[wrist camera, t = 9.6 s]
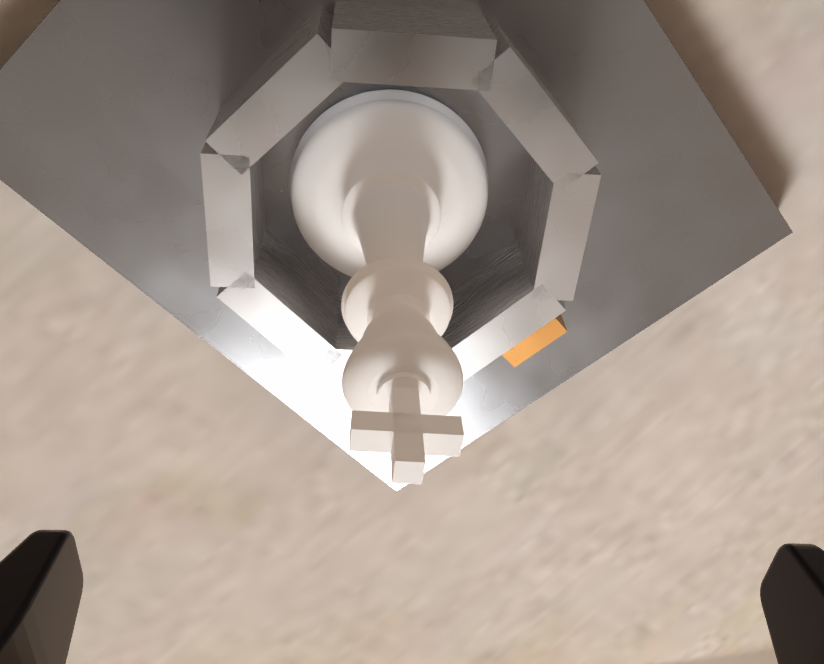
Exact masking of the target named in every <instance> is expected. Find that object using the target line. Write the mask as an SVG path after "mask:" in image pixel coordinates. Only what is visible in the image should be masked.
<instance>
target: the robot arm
mask: <svg viewBox="0 0 824 664" xmlns="http://www.w3.org/2000/svg"><path fill="white" fill-rule="evenodd" d="M82 589H83V573H82V568H81V564H80V560H79V556H78V551H77V547H76V543H75V539H74V536H73V535H72V533H71V532H69V531H66V530H38V531H35V532H34V533H32V534H31V535H29V536H28V537H27V538H26V539H25V540H24V541H23V542H22V543H20V544H19V545H18V546H17V547H16V548H15V549H14V550H13V551H12V552H11V553H10V554H8V555H7V556H6V557H5V558H4V559H3V560H2V561H1V562H0V664H66V659H67V655H68V651H69V646H70V642H71V638H72V634H73V629H74V625H75V621H76V616H77V612H78V608H79V604H80V599H81V595H82ZM760 597H761V603H762V607H763V611H764V614H765V618H766V621H767V625H768V629H769V632H770V636H771V640H772V643H773V647H774V651H775V654H776V658H777V661H778V664H824V551H823V550H822V549H821V548H819V547H817V546H815V545H812V544H784V545H783V546H781V547H780V548H779V549H778V551H777V553H776V555H775V557H774V559H773V561H772V563H771V565H770V567H769V569H768V571H767V573H766V575H765V577H764V579H763V581H762V583H761V588H760Z"/></svg>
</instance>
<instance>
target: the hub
mask: <svg viewBox="0 0 824 664" xmlns="http://www.w3.org/2000/svg"><path fill="white" fill-rule="evenodd" d="M386 89H392V90H405V91H410V92H415V93H418V94H422V95H425V96H427V97H430V98H432V99H434V100H436V101H438V102H440V103H442V104H444V105H445V106H447V107H448V108H450V109H451V110H452V111H454V112H455V113H456V114H457V115H458V116H459V117H460V118H461V119H462V120H463V121H464V122H465V123H466V124H467V125H468V126H469V128H470V129H471V130H472V132H473V133H474V135H475V136H476V138H477V140H478V142H479V144H480V146H481V148H482V151H483V153H484V156H485V160H486V164H487V170H488V201H487V207H486V212H485V216H484V219H483V221H482V224H481V226H480V229H479V231H478V232H477V234H476V236H475V238H474V239H473V241H472V242H471V244H470V245H469V246H468V247H467V249H466V250H465V251H464V252H463V253H462V254H461V255H460V256H459V257H458V258H457V259H455V260H454V261H453V262H452V263H451V264H449V265H448V266H446V267H445V268H443V269H441V270H440V271H439V272H440V273H441V274H442V275H443V277H444V278H445V279H446V281H447V282H448V284H449V286H450V288H451V291H452V295H453V313H452V316H451V319H450V321H449V324H448V327H447V329H446V330H445V332H444V334H443V335H442V336H441V337H442V338H443V339H444V340H445V341H446V342H447V343H448V345H449V346H450V347H451V349H452V350H453V351H454V353H455V354H456V356H457V358H458V360H459V362H460V365H461V368H462V372H463V388H462V392H461V395H460V397H459V400H458V402H457V403H456V405H455V406H454V408H453V409H452V410H451V411H450V412H449V413H448V414H447V415H446V416H461V419H462V425H463V432H464V438H463V443H462V448H463V447H465V446H466V445H468V444H469V443H471V442H472V441H474V440H476V439H477V438H479V437H480V436H482V435H483V434H485V433H486V432H488V431H489V430H491V429H492V428H494V427H495V426H497V425H498V424H500V423H502V422H503V421H505V420H506V419H508V418H509V417H511V416H512V415H514V414H515V413H517V412H518V411H520V410H521V409H523V408H524V407H526V406H528V405H529V404H531V403H532V402H534V401H535V400H537V399H538V398H540V397H541V396H543V395H544V394H546V393H547V392H549V391H550V390H552V389H554V388H555V387H557V386H558V385H560V384H561V383H563V382H564V381H566V380H567V379H569V378H570V377H572V376H573V375H575V374H576V373H578V372H580V371H581V370H583V369H584V368H586V367H587V366H589V365H590V364H592V363H593V362H595V361H596V360H598V359H599V358H601V357H602V356H604V355H606V354H607V353H609V352H610V351H612V350H613V349H615V348H616V347H618V346H619V345H621V344H622V343H624V342H625V341H627V340H628V339H630V338H632V337H633V336H635V335H636V334H638V333H639V332H641V331H642V330H644V329H645V328H647V327H648V326H650V325H651V324H653V323H654V322H656V321H658V320H659V319H661V318H662V317H664V316H665V315H667V314H668V313H670V312H671V311H673V310H674V309H676V308H677V307H679V306H680V305H682V304H684V303H685V302H687V301H688V300H690V299H691V298H693V297H694V296H696V295H697V294H699V293H700V292H702V291H703V290H705V289H706V288H708V287H710V286H711V285H713V284H714V283H716V282H717V281H719V280H720V279H722V278H723V277H725V276H726V275H728V274H729V273H731V272H732V271H734V270H736V269H737V268H739V267H740V266H742V265H743V264H745V263H746V262H748V261H749V260H751V259H752V258H754V257H755V256H757V255H758V254H760V253H762V252H763V251H765V250H766V249H768V248H769V247H771V246H772V245H774V244H775V243H777V242H778V241H780V240H781V239H783V238H784V237H786V236H788V235H789V234H791V233H792V230H791V229H790V227H789V226H788V224H787V222H786V221H785V219H784V218H783V216H782V215H781V213H780V211H779V210H778V208H777V207H776V205H775V204H774V202H773V201H772V199H771V197H770V196H769V194H768V193H767V191H766V190H765V188H764V187H763V185H762V183H761V182H760V180H759V179H758V177H757V176H756V174H755V173H754V171H753V169H752V168H751V166H750V165H749V163H748V162H747V160H746V159H745V157H744V155H743V154H742V152H741V151H740V149H739V148H738V146H737V144H736V143H735V141H734V140H733V138H732V137H731V135H730V134H729V132H728V130H727V129H726V127H725V126H724V124H723V123H722V121H721V120H720V118H719V116H718V115H717V113H716V112H715V110H714V109H713V107H712V106H711V104H710V102H709V101H708V99H707V98H706V96H705V95H704V93H703V92H702V90H701V88H700V87H699V85H698V84H697V82H696V81H695V79H694V77H693V76H692V74H691V73H690V71H689V70H688V68H687V67H686V65H685V63H684V62H683V60H682V59H681V57H680V56H679V54H678V53H677V51H676V49H675V48H674V46H673V45H672V43H671V42H670V40H669V39H668V37H667V35H666V34H665V32H664V31H663V29H662V28H661V26H660V25H659V23H658V21H657V20H656V18H655V17H654V15H653V14H652V12H651V10H650V9H649V7H648V6H647V4H646V3H645V1H644V0H60V1H59V2H58V4H57V5H56V6H55V7H54V8H53V9H52V11H51V12H50V13H49V14H48V15H47V16H46V17H45V19H44V20H43V21H42V22H41V23H40V24H39V25H38V27H37V28H36V29H35V30H34V31H33V32H32V34H31V35H30V36H29V37H28V38H27V39H26V40H25V42H24V43H23V44H22V45H21V46H20V47H19V49H18V50H17V51H16V52H15V53H14V54H13V55H12V57H11V58H10V59H9V60H8V61H7V62H6V64H5V65H4V66H3V67H2V68H1V69H0V180H1V181H3V182H4V183H5V184H6V185H8V186H9V187H10V188H12V189H13V190H14V191H15V192H17V193H18V194H19V195H20V196H22V197H23V198H24V199H26V200H27V201H28V202H29V203H31V204H32V205H33V206H34V207H36V208H37V209H38V210H40V211H41V212H42V213H43V214H45V215H46V216H47V217H48V218H50V219H51V220H52V221H53V222H55V223H56V224H57V225H59V226H60V227H61V228H62V229H64V230H65V231H66V232H67V233H69V234H70V235H71V236H73V237H74V238H75V239H76V240H78V241H79V242H80V243H81V244H83V245H84V246H85V247H87V248H88V249H89V250H90V251H92V252H93V253H94V254H95V255H97V256H98V257H99V258H101V259H102V260H103V261H104V262H106V263H107V264H108V265H109V266H111V267H112V268H113V269H115V270H116V271H117V272H118V273H120V274H121V275H122V276H123V277H125V278H126V279H127V280H129V281H130V282H131V283H132V284H134V285H135V286H136V287H137V288H139V289H140V290H141V291H143V292H144V293H145V294H146V295H148V296H149V297H150V298H151V299H153V300H154V301H155V302H156V303H158V304H159V305H160V306H162V307H163V308H164V309H165V310H167V311H168V312H169V313H170V314H172V315H173V316H174V317H176V318H177V319H178V320H179V321H181V322H182V323H183V324H184V325H186V326H187V327H188V328H190V329H191V330H192V331H193V332H195V333H196V334H197V335H198V336H200V337H201V338H202V339H204V340H205V341H206V342H207V343H209V344H210V345H211V346H212V347H214V348H215V349H216V350H218V351H219V352H220V353H221V354H223V355H224V356H225V357H226V358H228V359H229V360H230V361H232V362H233V363H234V364H235V365H237V366H238V367H239V368H240V369H242V370H243V371H244V372H246V373H247V374H248V375H249V376H251V377H252V378H253V379H254V380H256V381H257V382H258V383H260V384H261V385H262V386H263V387H265V388H266V389H267V390H268V391H270V392H271V393H272V394H273V395H275V396H276V397H277V398H279V399H280V400H281V401H282V402H284V403H285V404H286V405H287V406H289V407H290V408H291V409H293V410H294V411H295V412H296V413H298V414H299V415H300V416H301V417H303V418H304V419H305V420H307V421H308V422H309V423H310V424H312V425H313V426H314V427H315V428H317V429H318V430H319V431H321V432H322V433H323V434H324V435H326V436H327V437H328V438H329V439H331V440H332V441H333V442H335V443H336V444H337V445H338V446H340V447H341V448H342V449H343V450H345V451H346V452H347V453H349V454H350V455H351V456H352V457H354V458H355V459H356V460H357V461H359V462H360V463H361V464H363V465H364V466H365V467H366V468H368V469H369V470H370V471H371V472H373V473H374V474H375V475H377V476H378V477H379V478H380V479H382V480H383V481H384V482H385V483H387V484H388V485H389V486H390V487H392V488H393V489H394V490H396V491H398V490H399V489H401V488H402V487H404V486H405V485H407V484H402V483H392V472H391V453H378V452H359V451H349V443H350V424H351V414H352V410H351V409H350V407H349V406H348V404H347V402H346V400H345V398H344V394H343V390H342V375H343V370H344V367H345V364H346V362H347V360H348V358H349V356H350V354H351V352H352V351H353V349H354V347H355V346H356V344H357V343H358V342H357V341H356V339H355V338H354V337H353V336H352V335H351V333H350V331H349V330H348V328H347V326H346V324H345V322H344V319H343V316H342V311H341V301H342V296H343V292H344V290H345V287H346V285H347V284H348V282H349V281H350V279H351V278H352V277H351V276H348V275H346V274H344V273H342V272H340V271H338V270H336V269H335V268H333V267H332V266H330V265H329V264H327V263H326V262H325V261H324V260H322V259H321V258H320V257H319V256H318V255H317V254H316V253H315V252H314V251H313V250H312V249H311V247H310V246H309V245H308V243H307V242H306V240H305V239H304V237H303V236H302V234H301V232H300V230H299V228H298V226H297V223H296V220H295V217H294V214H293V209H292V204H291V198H290V189H289V177H290V169H291V163H292V160H293V156H294V153H295V151H296V148H297V146H298V144H299V142H300V140H301V138H302V137H303V135H304V133H305V132H306V131H307V129H308V128H309V127H310V125H311V124H312V123H313V122H314V121H315V120H316V119H317V118H318V117H319V116H320V115H321V114H322V113H324V112H325V111H326V110H327V109H329V108H330V107H332V106H333V105H335V104H337V103H338V102H340V101H342V100H344V99H346V98H349V97H351V96H354V95H357V94H360V93H364V92H368V91H374V90H386ZM462 448H461V449H462ZM448 457H450V456H437V455H425V468H424V473H425V472H427V471H428V470H430V469H431V468H433V467H434V466H436V465H437V464H439V463H440V462H442V461H443V460H445V459H446V458H448Z"/></svg>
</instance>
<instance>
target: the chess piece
mask: <svg viewBox="0 0 824 664" xmlns="http://www.w3.org/2000/svg"><path fill="white" fill-rule="evenodd" d="M289 189H290V198H291V204H292V209H293V214H294V217H295V220H296V223H297V226H298V228H299V230H300V232H301V234H302V236H303V237H304V239H305V240H306V242H307V243H308V245H309V246H310V247H311V249H312V250H313V251H314V252H315V253H316V254H317V255H318V256H319V257H320V258H321V259H322V260H324V261H325V262H326V263H327V264H329V265H330V266H332V267H333V268H335V269H336V270H338V271H340V272H342V273H344V274H346V275H348V276H351V277H352V278H351V279H350V281H349V282H348V284H347V285H346V287H345V290H344V292H343V296H342V301H341V311H342V316H343V319H344V322H345V324H346V326H347V328H348V330H349V331H350V333H351V335H352V336H353V337H354V338H355V339H356V341H357V342H358V343H357V344H356V346H355V347H354V349H353V351H352V352H351V354H350V356H349V358H348V360H347V362H346V364H345V367H344V370H343V375H342V390H343V394H344V398H345V400H346V402H347V404H348V406H349V407H350V409H351V410H352V414H351V424H350V443H349V451H359V452H378V453H391V472H392V483H402V484H422V480H423V474H424V468H425V455H437V456H456V457H460V453H461V448H462V443H463V438H464V432H463V425H462V419H461V416H446V415H447V414H448V413H449V412H450V411H451V410H452V409H453V408H454V406H455V405H456V403H457V402H458V400H459V397H460V395H461V392H462V388H463V372H462V368H461V365H460V362H459V360H458V358H457V356H456V354H455V353H454V351H453V350H452V349H451V347H450V346H449V345H448V343H447V342H446V341H445V340H444V339H443V338H442V337H441V336H442V335H443V334H444V332H445V330H446V329H447V327H448V324H449V321H450V319H451V316H452V313H453V295H452V291H451V288H450V286H449V284H448V282H447V281H446V279H445V278H444V277H443V275H442V274H441V273H440V272H439V271H440V270H441V269H443V268H445V267H446V266H448V265H449V264H451V263H452V262H453V261H454V260H455V259H457V258H458V257H459V256H460V255H461V254H462V253H463V252H464V251H465V250H466V249H467V247H468V246H469V245H470V244H471V242H472V241H473V239H474V238H475V236H476V234H477V232H478V231H479V229H480V226H481V224H482V221H483V219H484V216H485V212H486V207H487V201H488V170H487V164H486V160H485V156H484V153H483V151H482V148H481V146H480V144H479V142H478V140H477V138H476V136H475V135H474V133H473V132H472V130H471V129H470V128H469V126H468V125H467V124H466V123H465V122H464V121H463V120H462V119H461V118H460V117H459V116H458V115H457V114H456V113H455V112H454V111H452V110H451V109H450V108H448V107H447V106H445V105H444V104H442V103H440V102H438V101H436V100H434V99H432V98H430V97H427V96H425V95H422V94H418V93H415V92H410V91H405V90H392V89H386V90H374V91H368V92H364V93H360V94H357V95H354V96H351V97H349V98H346V99H344V100H342V101H340V102H338V103H337V104H335V105H333V106H332V107H330V108H329V109H327V110H326V111H325V112H324V113H322V114H321V115H320V116H319V117H318V118H317V119H316V120H315V121H314V122H313V123H312V124H311V125H310V127H309V128H308V129H307V131H306V132H305V133H304V135H303V137H302V138H301V140H300V142H299V144H298V146H297V148H296V151H295V153H294V156H293V160H292V163H291V169H290V177H289Z"/></svg>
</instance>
